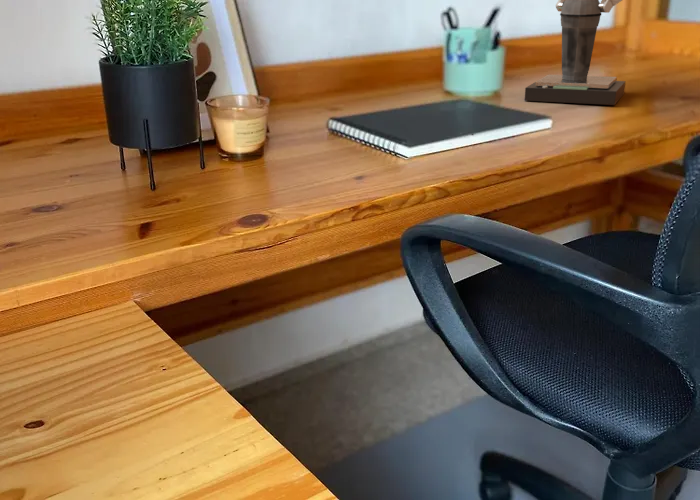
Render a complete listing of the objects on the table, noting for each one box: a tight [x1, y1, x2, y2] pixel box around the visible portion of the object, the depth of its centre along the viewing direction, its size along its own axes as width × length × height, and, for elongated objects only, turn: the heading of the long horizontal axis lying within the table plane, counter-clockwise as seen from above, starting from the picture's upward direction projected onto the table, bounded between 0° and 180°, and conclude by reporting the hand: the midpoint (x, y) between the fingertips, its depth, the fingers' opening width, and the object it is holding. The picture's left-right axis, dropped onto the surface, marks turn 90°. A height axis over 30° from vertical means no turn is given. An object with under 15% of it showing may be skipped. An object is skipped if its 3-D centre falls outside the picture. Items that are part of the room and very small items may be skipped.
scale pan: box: [535, 74, 618, 89], centre depth 135 cm, size 13×11×1 cm
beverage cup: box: [559, 0, 602, 81], centre depth 131 cm, size 7×7×20 cm
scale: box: [524, 80, 626, 106], centre depth 135 cm, size 16×14×3 cm
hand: (580, 9), depth 130 cm, fingers open, 8 cm apart
